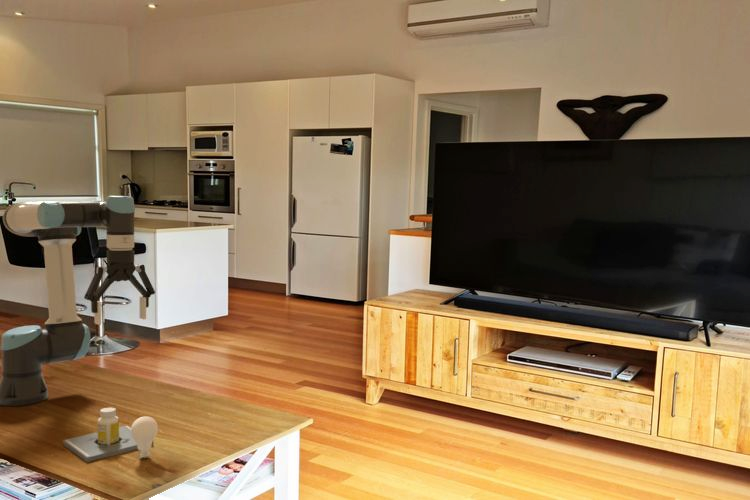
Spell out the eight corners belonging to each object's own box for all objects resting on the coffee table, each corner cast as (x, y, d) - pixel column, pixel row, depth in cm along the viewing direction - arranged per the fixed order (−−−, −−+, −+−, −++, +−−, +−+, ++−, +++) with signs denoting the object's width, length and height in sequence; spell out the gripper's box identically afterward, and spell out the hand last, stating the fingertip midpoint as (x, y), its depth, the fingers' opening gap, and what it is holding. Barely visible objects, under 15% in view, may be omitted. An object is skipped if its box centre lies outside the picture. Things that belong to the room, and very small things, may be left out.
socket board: (63, 444, 185) (62, 439, 184) (127, 429, 197) (127, 425, 197) (87, 462, 173) (87, 457, 173) (153, 445, 186) (153, 440, 186)
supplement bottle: (119, 440, 189) (119, 405, 188) (118, 447, 184) (118, 412, 183) (98, 442, 187) (98, 407, 186) (97, 449, 182) (96, 413, 181)
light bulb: (134, 453, 180) (134, 412, 179) (160, 453, 180) (160, 412, 179) (127, 463, 173) (127, 421, 172) (154, 463, 174) (154, 421, 173)
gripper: (82, 251, 186) (83, 328, 188) (166, 248, 204) (166, 318, 206) (71, 249, 192) (72, 324, 193) (154, 246, 209) (154, 314, 211)
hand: (120, 321), depth 200 cm, fingers open, 13 cm apart
